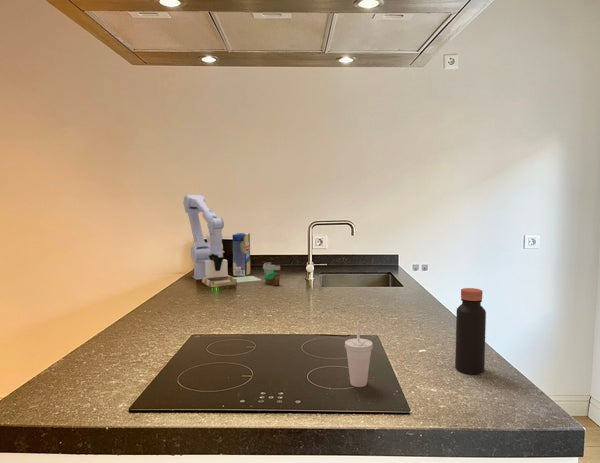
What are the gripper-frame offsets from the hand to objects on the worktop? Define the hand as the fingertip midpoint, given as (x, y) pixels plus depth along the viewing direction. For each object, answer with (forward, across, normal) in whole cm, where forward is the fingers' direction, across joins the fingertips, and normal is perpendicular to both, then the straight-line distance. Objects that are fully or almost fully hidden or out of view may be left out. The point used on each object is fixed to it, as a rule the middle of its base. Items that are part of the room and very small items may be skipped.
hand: (216, 270), depth 225 cm
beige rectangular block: (+3, 0, 0) cm, 3 cm away
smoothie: (+6, -132, +7) cm, 132 cm away
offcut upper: (+6, -8, 0) cm, 9 cm away
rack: (+6, -4, 0) cm, 7 cm away
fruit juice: (+7, +39, -11) cm, 41 cm away
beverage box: (+7, +16, -19) cm, 26 cm away
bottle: (+6, -138, -22) cm, 140 cm away
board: (+6, 0, -15) cm, 16 cm away
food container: (+6, -17, -21) cm, 28 cm away
